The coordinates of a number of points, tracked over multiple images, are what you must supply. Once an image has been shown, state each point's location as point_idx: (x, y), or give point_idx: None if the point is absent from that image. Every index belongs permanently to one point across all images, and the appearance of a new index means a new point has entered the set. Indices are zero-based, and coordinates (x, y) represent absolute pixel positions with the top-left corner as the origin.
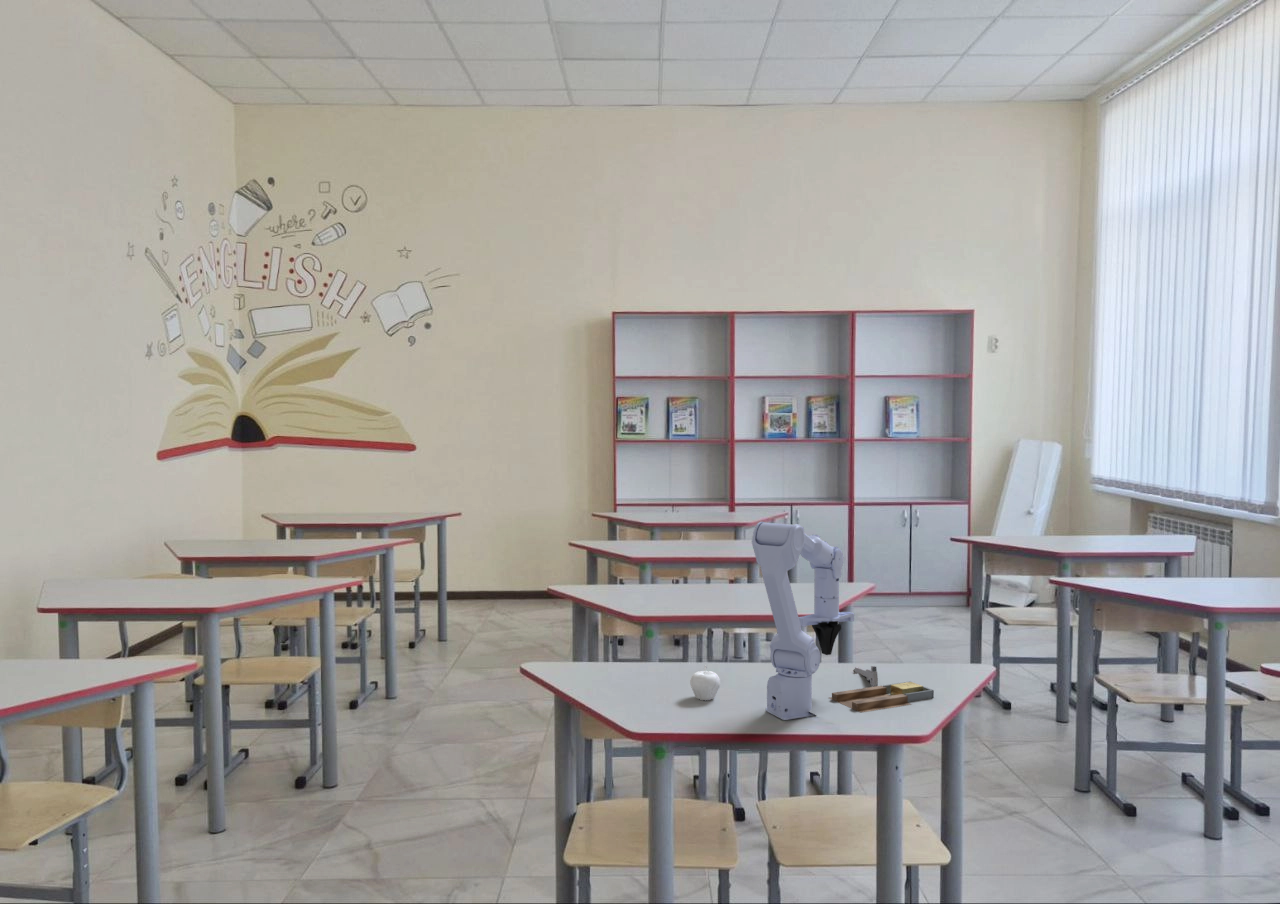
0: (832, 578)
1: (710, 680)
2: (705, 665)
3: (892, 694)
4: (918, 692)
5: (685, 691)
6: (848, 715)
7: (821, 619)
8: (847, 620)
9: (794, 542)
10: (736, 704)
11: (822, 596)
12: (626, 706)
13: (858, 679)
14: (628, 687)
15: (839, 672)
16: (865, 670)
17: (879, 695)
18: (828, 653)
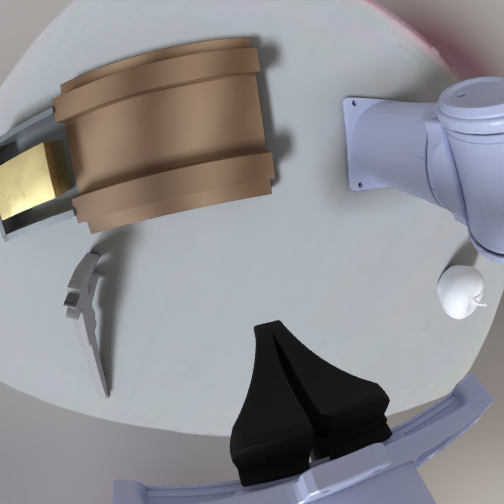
0: None
1: (477, 276)
2: (486, 304)
3: (66, 183)
4: (15, 127)
5: (441, 314)
6: (268, 71)
7: (428, 437)
8: (156, 489)
9: None
10: (435, 237)
11: None
12: None
13: (109, 354)
14: (464, 330)
15: (139, 394)
16: (91, 353)
17: (103, 182)
18: (272, 324)
